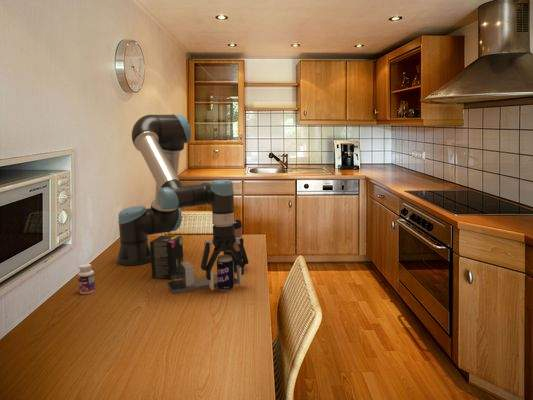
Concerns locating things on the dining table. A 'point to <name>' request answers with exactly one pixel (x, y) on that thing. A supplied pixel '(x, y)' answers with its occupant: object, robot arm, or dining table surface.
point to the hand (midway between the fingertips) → (225, 286)
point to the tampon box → (166, 256)
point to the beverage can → (225, 272)
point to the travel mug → (237, 234)
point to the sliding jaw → (185, 274)
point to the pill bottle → (86, 279)
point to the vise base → (198, 284)
